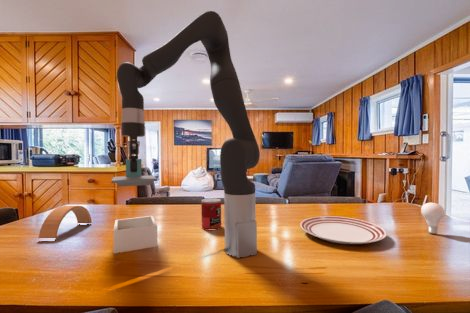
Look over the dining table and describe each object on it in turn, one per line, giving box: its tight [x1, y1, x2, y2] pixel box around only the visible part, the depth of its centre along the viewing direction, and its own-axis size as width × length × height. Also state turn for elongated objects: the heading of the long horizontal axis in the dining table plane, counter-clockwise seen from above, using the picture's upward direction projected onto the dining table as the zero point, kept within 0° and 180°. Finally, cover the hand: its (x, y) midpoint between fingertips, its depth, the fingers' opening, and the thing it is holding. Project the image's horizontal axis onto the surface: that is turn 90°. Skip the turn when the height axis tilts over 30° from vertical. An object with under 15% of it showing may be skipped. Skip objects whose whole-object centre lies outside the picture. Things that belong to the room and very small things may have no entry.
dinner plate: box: [299, 215, 388, 245], centre depth 83 cm, size 27×27×3 cm
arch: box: [38, 205, 93, 239], centre depth 89 cm, size 6×20×10 cm, turn 178°
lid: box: [110, 158, 158, 188], centre depth 76 cm, size 15×13×8 cm
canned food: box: [200, 197, 222, 230], centre depth 93 cm, size 8×8×11 cm
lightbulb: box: [420, 202, 446, 235], centre depth 82 cm, size 6×6×11 cm
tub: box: [112, 215, 158, 254], centre depth 76 cm, size 14×12×7 cm
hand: (133, 171), depth 82 cm, fingers closed on lid, 1 cm apart
